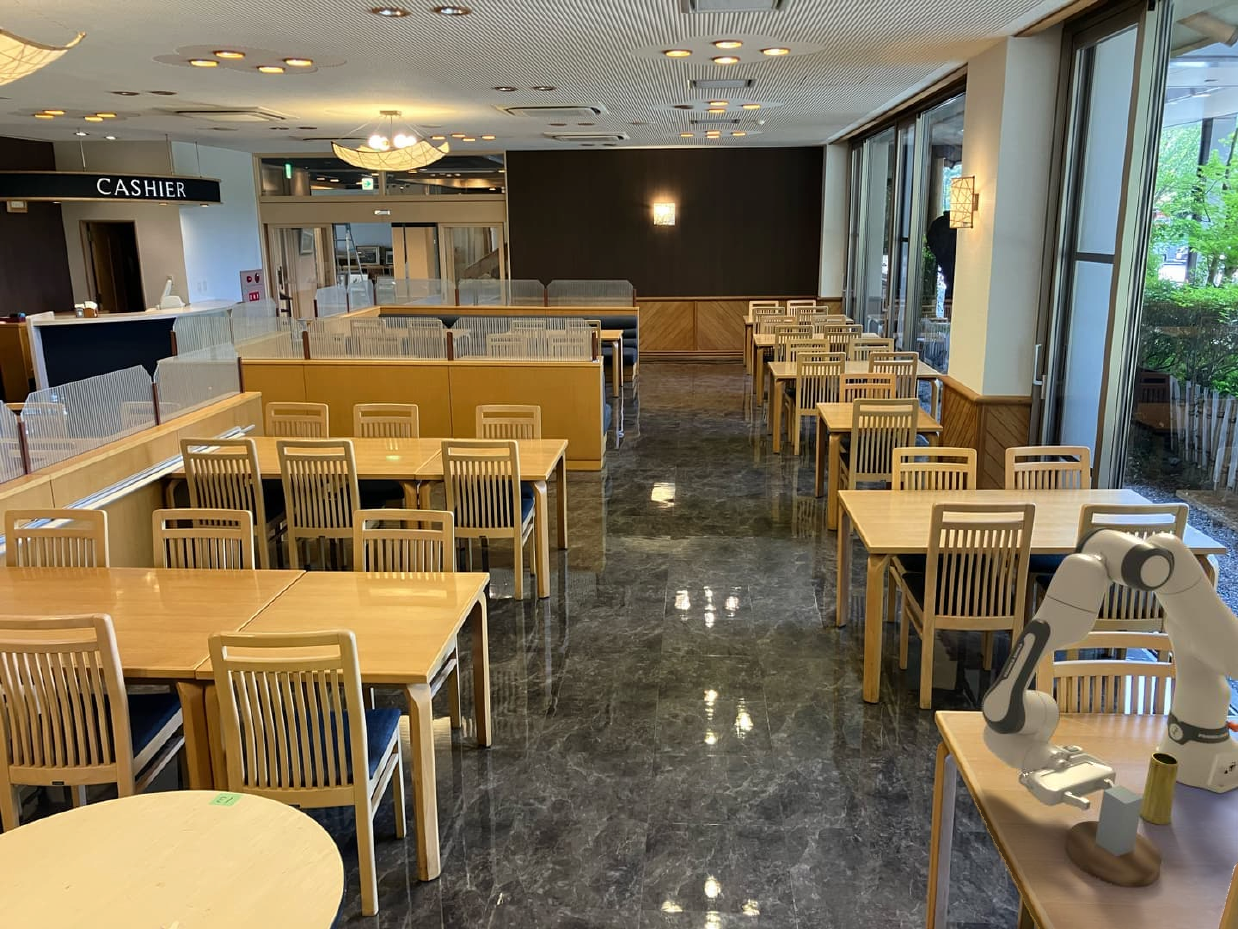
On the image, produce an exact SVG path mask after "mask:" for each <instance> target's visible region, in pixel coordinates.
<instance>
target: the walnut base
mask: <svg viewBox="0 0 1238 929" xmlns="http://www.w3.org/2000/svg"><path fill="white" fill-rule="evenodd" d="M1098 822H1099V820H1087V821H1086V820H1085V821H1082V822H1078V823H1076V824H1074V825H1072V827H1071V828H1070V829H1069V830H1068V834H1067V840H1066V845H1065V846H1066V849H1065V850H1066V853H1067V855H1068V857H1069V859H1070V861H1072V862H1073V863H1074V865H1076V867H1077V868H1079V869H1080V870H1082V871H1083V872H1084V871H1085V872H1084V873H1086V872H1087V873H1088V875H1089V874H1090V875H1089V876H1091V877H1093V876H1094V877H1093V878H1095V877H1096V878H1095V879H1097V878H1099V879H1100V881H1102V882H1105V883H1107V884H1110V883H1112V884H1111V885H1114V884H1115V886H1118V885H1119V887H1125V888H1144V887H1148V886H1150V885H1152V884H1154V883H1155V882H1156V881H1157V880H1158V879H1159V877H1160V873H1161V866H1162V861H1163V860H1162V859H1163V858H1162V855H1161V852H1160V851H1159V849H1158V848H1157V846H1155V845H1154V843H1152V841H1150V840H1149V839H1148V838H1146V837H1145V836H1144V835H1141V834H1140V833H1139V832H1137V834H1136V840H1135V845H1134V851H1131V852H1128V853H1125V854H1123V855H1120V856H1117V857H1116V856H1114V855H1113V854H1111V853H1110V852H1109V851H1107V850H1106V849H1104V848H1103V847H1101V846H1100V845H1098V844H1097V843H1095V840H1096V834H1097V828H1098ZM1087 873H1086V874H1087ZM1099 879H1098V880H1099Z"/></svg>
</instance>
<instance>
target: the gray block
mask: <svg viewBox="0 0 1238 929" xmlns="http://www.w3.org/2000/svg"><path fill="white" fill-rule="evenodd" d="M1142 801H1143V796H1140V795H1138V794H1137V793H1135V792H1134V791H1132V790H1130V789H1129V788H1127V787H1126V786H1124V785H1122V784H1120V785H1115V787H1113V788H1110V789H1107V790H1103V793H1102V799H1101V805H1100V811H1099V816H1098V821H1099V822H1098V828H1097V834H1096V840H1095V843H1097V844H1098V845H1100V846H1101V847H1103V848H1104V849H1106V850H1107V851H1109V852H1110V853H1111V854H1113V855H1114V856H1116V857H1117V856H1120V855H1123V854H1125V853H1128V852H1131V851H1134V845H1135V840H1136V834H1137V833H1138V828H1139V824H1140V823H1139V822H1140V817H1141V815H1140V812H1141V807H1142Z"/></svg>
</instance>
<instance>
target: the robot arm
mask: <svg viewBox="0 0 1238 929" xmlns="http://www.w3.org/2000/svg"><path fill="white" fill-rule="evenodd" d="M1114 583H1116V584H1119V585H1123V586H1126V587H1128V588H1130V589H1132V590H1134V591H1140V592H1153V593H1154V595H1155V596H1156V598H1157V599H1158V601H1159V603H1160V605H1161V607H1162V608H1163V610H1164V612H1165V613H1166V616H1165V618H1164V622H1163V628H1164V631H1165V632H1166V635H1167V636H1168V639H1169V641H1170V644H1171V649H1172V653H1173V660H1174V661H1173V662H1174V668H1175V689H1174V695H1173V700H1172V706H1171V708H1169V711H1168V714H1167V720H1166V725H1165V727H1164V729H1163V733H1162V736H1161V739H1160V742H1159V746H1156V747H1155V750H1154V753H1155V752H1162V753H1167V754H1170V755H1172V756H1174V757H1175V758H1177V759H1178V761H1179V765H1178V770H1177V775H1176V781H1175V782H1178V783H1180V784H1184V785H1186V786H1191V787H1196V788H1201V789H1204V790H1208V791H1211V792H1215V793H1218V794H1223V793H1225V792H1229V791H1230V790H1234V789H1236V788H1238V741H1237V740H1236V739H1235V738H1234V737H1233V736H1231V734H1230V730H1231V731H1232V732H1233V733H1238V723H1236V722H1235V721H1233V720H1230V721H1228V714H1229V709H1230V705H1231V700H1232V690H1231V687H1230V684H1229V683H1228V681H1227V678H1229V679H1231V680H1235V681H1238V616H1237V615H1236V614H1235V613H1234V612H1233V611H1232V609H1231V608H1230V607H1229V606H1228V605H1227V604H1226V603H1225V601H1224V600H1223V599H1222V597H1221V596H1220V595H1219V593H1217V591H1216V589H1215V588H1214V585H1213V584H1212V582H1211V580H1210V579H1209V577H1208V575H1207V574H1206V572H1205V570H1204V569H1203V567H1202V565H1201V563H1200V562H1199V560H1198V559H1197V557H1196V556H1195V554H1194V553H1193V551H1191V549H1190V548H1189V547H1188V546H1187V545H1186V543H1185V542H1183V540H1182V539H1181V538H1180V537H1179V536H1177V535H1175V534H1173V533H1170V532H1169V533H1168V532H1159V533H1155V534H1151V535H1150V536H1147V538H1142V537H1140V536H1137V535H1135V534H1131V533H1127V532H1124V531H1120V530H1115V529H1114V528H1112V527H1111V528H1110V527H1101V526H1100V527H1099V526H1098V527H1093V528H1091V529H1089V530H1087V531H1086V532H1085V533H1084V534H1083V535H1082V536H1081V538H1080V539H1079V540H1078V543H1077V544H1076V547H1075V548H1074V551H1073V553H1072V554H1069V555H1067V556H1065V558H1063V560H1062V561H1061V563H1060V564H1059V566H1058V568H1057V569H1056V572H1055V573H1054V574H1053V577H1052V579H1051V581H1050V583H1049V586H1048V588H1047V590H1046V593H1045V595H1044V597H1043V598H1044V599H1043V600H1042V603H1041V605H1040V606H1039V608H1038V610H1037V612H1036V614H1034V616H1033V618H1032V619H1031V620H1030V621H1029V622H1028V623H1027V624H1026V625H1025V626H1024V628H1023V629H1022V631H1021V632H1020V634H1019V636H1018V637H1017V639H1016V642H1015V644H1014V645H1013V647H1012V648H1011V649H1012V650H1011V651H1010V654H1009V655H1008V657H1007V659H1006V661H1005V663H1004V666H1003V667H1002V669H1001V671H1000V673H999V675H998V676H997V678H996V680H995V682H994V683H993V684H992V685H991V686H990V687H989V688H988V689H987V690H986V692H985V694H984V696H983V698H982V702H981V712H982V713H981V714H982V717H983V720H984V721H985V726H984V729H983V735H982V736H983V741H984V744H985V746H986V747H987V749H988V750H989V752H991V753H992V754H993V755H994V756H995V757H996V758H998V759H999V760H1000V761H1002V762H1003V763H1004V764H1006V765H1007V766H1009V767H1010V768H1013V769H1016V770H1018V771H1020V772H1021V774H1019V776H1018V778H1017V780H1018V783H1019V784H1020V785H1021V786H1023V787H1025V788H1026V790H1027V792H1028V793H1029V794H1031V795H1032V796H1033V797H1034V798H1035V799H1036V800H1037V801H1039V802H1040V803H1042V804H1043V805H1045V806H1048V807H1053V806H1056V805H1060V804H1063V803H1064V804H1065V805H1066V806H1067V805H1068V806H1072V807H1075V808H1078V809H1080V810H1082V811H1083V812H1084V811H1087V810H1089V809H1090V807H1091V802H1090V800H1088V799H1087V798H1085V797H1084V796H1086V795H1090V794H1093V793H1096V792H1099V791H1102V790H1103V791H1104V790H1107V789H1110V788H1113V787H1116V785H1115V781H1116V778H1117V776H1116V775H1117V774H1116V770H1115V769H1114V768H1113V767H1112V766H1110V765H1109V764H1108V763H1106V762H1104V761H1102V760H1101V759H1099V758H1097V757H1096V756H1094V755H1092V754H1088V753H1084V749H1083V747H1080V746H1078V745H1058V744H1050V743H1049V741H1050V740H1051V738H1052V737H1053V735H1054V733H1055V731H1056V729H1057V727H1058V724H1059V722H1060V717H1061V714H1060V713H1061V711H1060V708H1059V705H1058V702H1057V701H1056V700H1055V698H1054V697H1053V696H1052V695H1051V694H1050V693H1048V692H1045V691H1041V690H1032V689H1028V688H1029V686H1030V684H1031V682H1032V680H1033V679H1034V676H1035V675H1036V672H1037V671H1038V668H1039V666H1040V664H1041V663H1042V661H1043V659H1044V658H1046V657H1047V656H1048V655H1049V654H1051V653H1053V652H1055V651H1056V650H1059V649H1061V648H1065V647H1067V646H1072V645H1075V644H1077V643H1080V642H1082V641H1083V640H1085V639H1086V638H1087V637H1088V635H1089V634H1090V633H1091V631H1092V630H1093V628H1094V626H1095V623H1096V621H1097V618H1098V615H1099V613H1100V609H1101V607H1102V604H1103V600H1104V596H1105V593H1106V591H1107V590H1108V589H1109V588H1110V587H1111V586H1112V585H1113V584H1114Z"/></svg>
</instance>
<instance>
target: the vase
mask: <svg viewBox="0 0 1238 929" xmlns="http://www.w3.org/2000/svg"><path fill="white" fill-rule="evenodd" d="M1178 765H1179V761H1178V759H1177V758H1175V757H1174V756H1172V755H1170V754H1167V753H1162V752H1155V751H1154V752H1152V753H1151V756H1150V761H1149V766H1148V771H1147V776H1146V782H1145V786H1144V791H1143V795H1142V798H1143V801H1142V807H1141V812H1140V817H1141V818H1142V819H1144V820H1146V821H1147V822H1148V823H1149V822H1150V823H1152V824H1155V825H1162V826H1163V825H1168V824H1170V822H1171V816H1172V809H1173V802H1174V796H1175V795H1174V794H1175V787H1176V782H1177V781H1176V775H1177V770H1178Z"/></svg>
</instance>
